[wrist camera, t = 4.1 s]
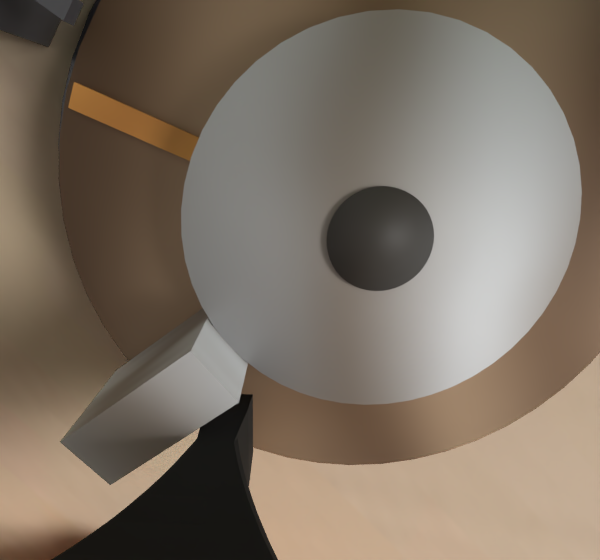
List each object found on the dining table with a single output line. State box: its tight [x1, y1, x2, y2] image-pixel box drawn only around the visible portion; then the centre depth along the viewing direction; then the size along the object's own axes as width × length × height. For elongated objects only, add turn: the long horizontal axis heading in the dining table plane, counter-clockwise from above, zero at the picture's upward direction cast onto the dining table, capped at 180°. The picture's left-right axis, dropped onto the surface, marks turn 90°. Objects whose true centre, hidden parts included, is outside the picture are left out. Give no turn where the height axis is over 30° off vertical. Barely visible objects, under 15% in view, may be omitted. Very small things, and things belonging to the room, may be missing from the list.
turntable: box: [59, 0, 600, 485], centre depth 10 cm, size 16×16×4 cm
